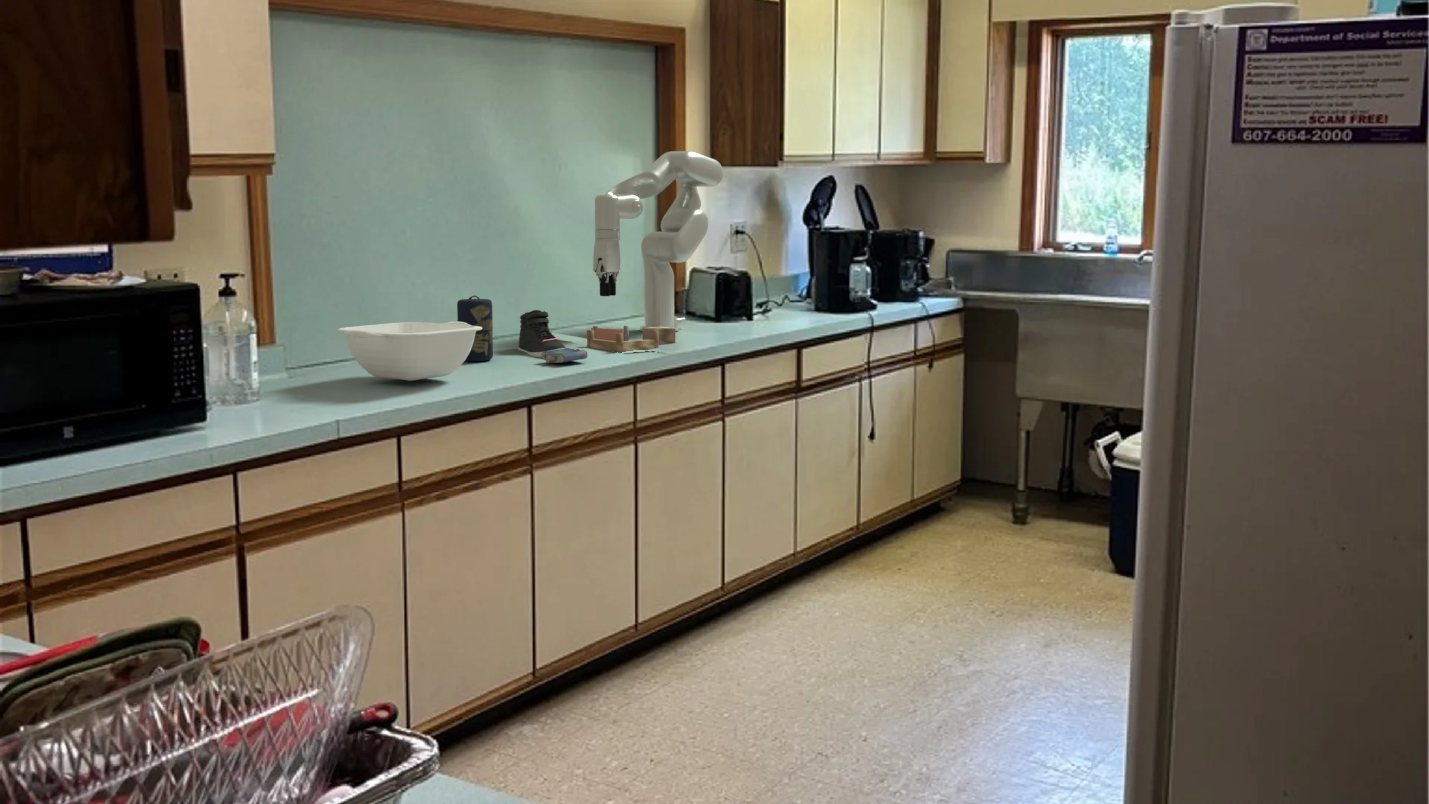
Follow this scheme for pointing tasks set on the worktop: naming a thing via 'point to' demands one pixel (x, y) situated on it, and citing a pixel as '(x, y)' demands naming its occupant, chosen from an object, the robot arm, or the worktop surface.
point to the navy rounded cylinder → (478, 315)
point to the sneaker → (537, 334)
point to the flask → (564, 355)
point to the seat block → (660, 334)
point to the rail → (610, 333)
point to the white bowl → (411, 348)
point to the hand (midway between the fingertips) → (607, 295)
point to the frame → (622, 343)
